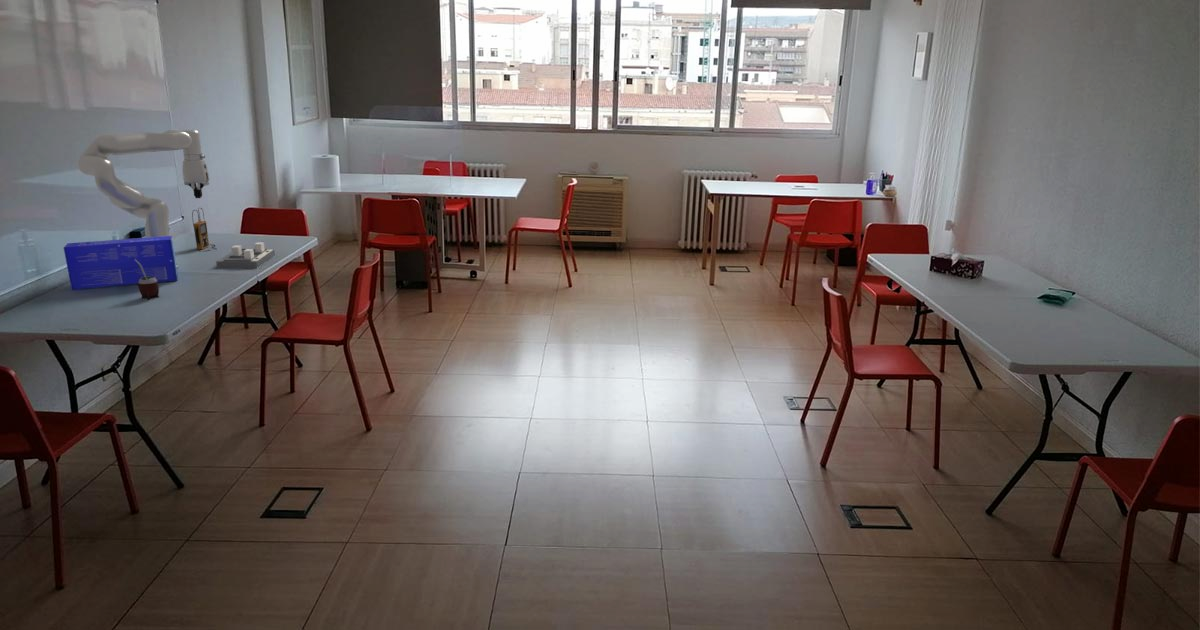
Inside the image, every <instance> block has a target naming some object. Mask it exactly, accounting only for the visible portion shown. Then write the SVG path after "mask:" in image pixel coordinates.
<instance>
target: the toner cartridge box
mask: <svg viewBox="0 0 1200 630" xmlns="http://www.w3.org/2000/svg"><path fill="white" fill-rule="evenodd" d="M173 240H174V239H173V236H172V235H170V236H162V237H148V238H146V237H139V238H138V237H137V238H124V239H109V240H107V239H106V240H95V241H81V242H69V243H66V245H64V247H63V252H64V257H65V262H66V267H67V272H68V278H69V282H70V288H71V290H72V291H77V290H91V289H102V288H113V287H122V286H134V285H135V286H136V285H138V282H139V280H140V278H143V277H144V275H143V272H142V270H141V268H140V266H139V264H138V263H137V262H136V261H135V259H136V260H137V261H138V262H139V263H140V264H141V265H142V268H143V271H144V273H145V275H146V277H155V278H156V279H157V281H158V283H162V282H163V283H164V282H165V283H166V282H176V281H178V280H179V275H178V274H179V273H178V268H177V266H176V264H177V262H176V255H175V248H174V241H173Z"/></svg>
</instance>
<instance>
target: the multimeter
mask: <svg viewBox="0 0 1200 630" xmlns="http://www.w3.org/2000/svg"><path fill="white" fill-rule="evenodd" d="M200 209H201V210H202V211H204V209H203V208H202V207H200ZM194 211H196V212H197V218H198V221H197V222H195V223H194V222H192V225H193V231H194V236H195V243H196V250H198V252H200V250H204V249H205V250H204V252H207V251H206V250H207V249H206V248H209V247H208V246H210V245H209V244H210V241H209V235H208V233H209V232H208V226H207V221H206V220H205V219H203V220H202V219H201V215H200V213H199V212H200V210H199V209H194V210H192V213H191V215H192V216H191V218H192V220H194V217H193V216H194ZM202 216H203V218H205V214H204V212H202ZM213 246H214V245H211V249H208V250H209V251H212V249H215V248H216V250H217V249H218V248H217V247H216V246H214V247H213Z"/></svg>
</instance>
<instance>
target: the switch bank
mask: <svg viewBox="0 0 1200 630" xmlns="http://www.w3.org/2000/svg"><path fill="white" fill-rule="evenodd" d="M241 248H242V254H241V255H232V251H230V252H229V253H228V254H225V255H224V256H223V257H221V258H220V259H218V260H216V261H215V264H216V268H217V267H218V268H219V269H258V268H260V267H261V266H262V265H264V264H265V263H267V262H268V261H269V260H271V259H272V258H273V256H274V257H275V255H276V254H275V253H276V252H275V249H271V248H270V249H268V248H265V251H263V252H255V248H252V249H253V250H254V258H253V259H244V250H246V249H248V248H246V247H245V248H243V247H241ZM270 258H271V259H270ZM267 260H268V261H267ZM266 261H267V262H266ZM264 262H265V263H264ZM263 263H264V264H263ZM261 264H262V265H261ZM260 265H261V266H260ZM259 266H260V267H259ZM257 267H258V268H257ZM218 268H217V269H218Z"/></svg>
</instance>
